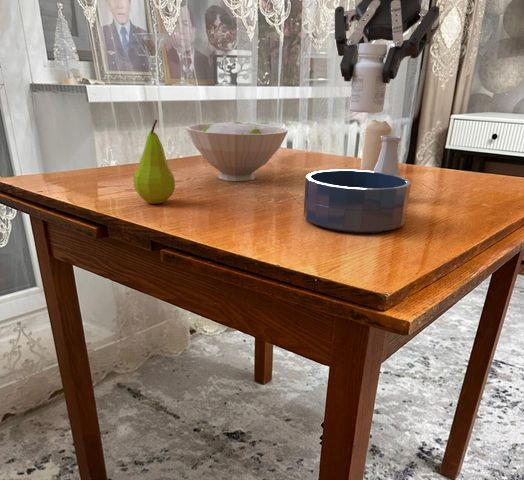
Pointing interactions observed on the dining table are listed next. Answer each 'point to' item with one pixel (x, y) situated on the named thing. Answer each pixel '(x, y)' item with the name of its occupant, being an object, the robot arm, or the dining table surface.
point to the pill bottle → (368, 79)
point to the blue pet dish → (356, 200)
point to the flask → (388, 155)
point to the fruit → (154, 172)
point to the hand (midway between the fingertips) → (365, 76)
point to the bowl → (236, 146)
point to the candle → (373, 143)
